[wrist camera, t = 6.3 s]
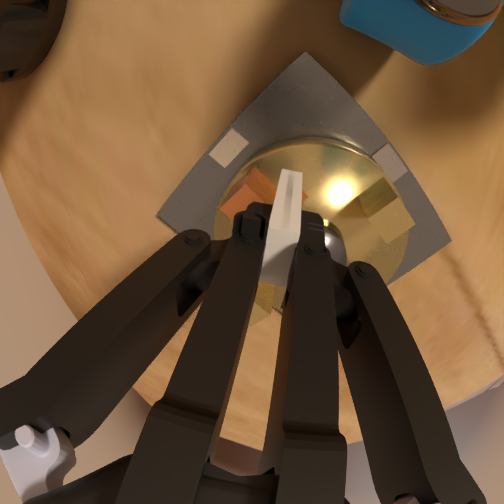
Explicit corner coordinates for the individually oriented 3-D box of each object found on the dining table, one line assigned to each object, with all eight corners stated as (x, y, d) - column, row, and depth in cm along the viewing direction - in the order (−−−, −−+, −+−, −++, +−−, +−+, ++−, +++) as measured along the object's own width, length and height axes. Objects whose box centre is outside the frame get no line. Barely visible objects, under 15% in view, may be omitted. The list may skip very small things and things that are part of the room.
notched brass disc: (300, 314, 31) (298, 362, 26) (188, 219, 26) (161, 260, 21) (425, 237, 23) (450, 282, 18) (320, 95, 18) (331, 102, 13)
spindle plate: (160, 209, 27) (155, 215, 26) (305, 52, 17) (305, 51, 16) (307, 325, 34) (307, 333, 33) (447, 235, 24) (452, 241, 23)
